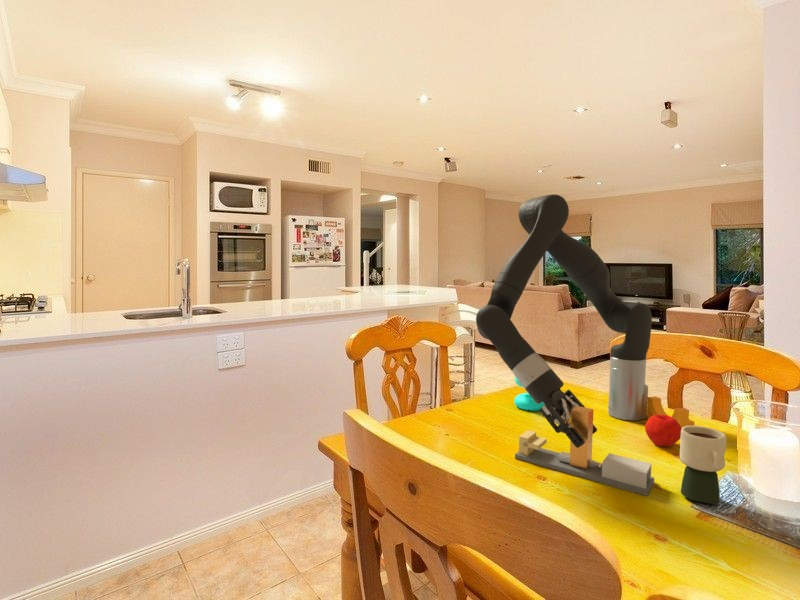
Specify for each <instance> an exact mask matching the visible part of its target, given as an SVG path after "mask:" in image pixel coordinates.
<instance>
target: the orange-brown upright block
mask: <svg viewBox="0 0 800 600" xmlns="http://www.w3.org/2000/svg"><path fill="white" fill-rule="evenodd" d="M570 421H571V424H572V426H573V427H574V428H575V429H576V430H577V432H578V433H579V434H580V435H581V436H582V438H583V439H584V440H585V443H584V444H583V445H582V446H580V447H579V448H577V447H575V445H574V444H573V443H572V442H571V440H570V445H569V446H570V447H569V449H570V450H569V452H566V451H560V452H559V453H560V454H558V460H559V461H563V462H567V463H570V465H574V466H577V467H581V468H585V469H587V468H588V467H592V468H599V469H602V462H599V461H597V460H593V459H592V457H593V425H594V409H593V408H590V407H586V406H585V407H580V406H576V407H575V408H573V409H572V410H571V417H570ZM573 427H572V428H573Z"/></svg>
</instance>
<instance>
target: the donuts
mask: <svg viewBox="0 0 800 600" xmlns="http://www.w3.org/2000/svg"><path fill="white" fill-rule="evenodd" d="M514 382H515V384H516V385H517V386H519V387H521V388H523V389H524V387H523V386H522V385H521V384H520V382H519V381H518V380H517V378H516V377H515V376H514ZM513 402H514V405H515V406H516V407H517V408H519V409H520V410H523V411H528V410H530V411H531V412H539V410H540V408H542V407H543V406H544V405H545V404H544V402H542V403H540V404H537V403H536V402H535V401H534V400H533V398H532V397H531V396H530V395H529V394H528V392H523V393H520V394H517V395H516V396H515V397H514V401H513Z"/></svg>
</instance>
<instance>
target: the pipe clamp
mask: <svg viewBox="0 0 800 600" xmlns="http://www.w3.org/2000/svg"><path fill="white" fill-rule="evenodd" d="M654 415H667V416H669V414H667V412H665V410H664V408H663V404H662V398H661V397H658V396H648V404H647V420H648V419H649V418H650V417H652V416H654ZM671 417H673V418H674V419H676V420H677V422H678V423H679V424H680V426H681V428H682V427H685V426H695V421H694V420H692V419H690V418H689V417H690V409H688V408H685V407H674V411H673V414H672V415H671Z"/></svg>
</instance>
